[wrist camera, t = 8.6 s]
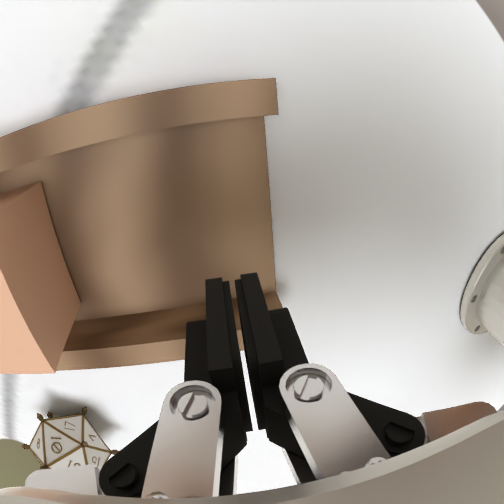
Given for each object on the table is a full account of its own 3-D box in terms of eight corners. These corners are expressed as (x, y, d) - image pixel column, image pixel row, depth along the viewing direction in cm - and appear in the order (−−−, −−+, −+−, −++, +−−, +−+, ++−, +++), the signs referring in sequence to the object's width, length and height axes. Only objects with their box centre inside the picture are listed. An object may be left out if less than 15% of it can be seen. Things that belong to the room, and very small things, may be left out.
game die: (81, 401, 29) (54, 474, 23) (29, 373, 22) (-3, 460, 16) (145, 433, 26) (115, 516, 20) (93, 413, 19) (56, 516, 14)
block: (40, 181, 14) (-17, 222, 9) (81, 303, 18) (55, 373, 13) (-31, 205, 14) (-88, 247, 8) (12, 312, 17) (-22, 372, 12)
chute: (256, 81, 15) (280, 74, 11) (273, 303, 22) (292, 351, 18) (-63, 169, 13) (-106, 192, 8) (3, 337, 19) (-18, 379, 15)
